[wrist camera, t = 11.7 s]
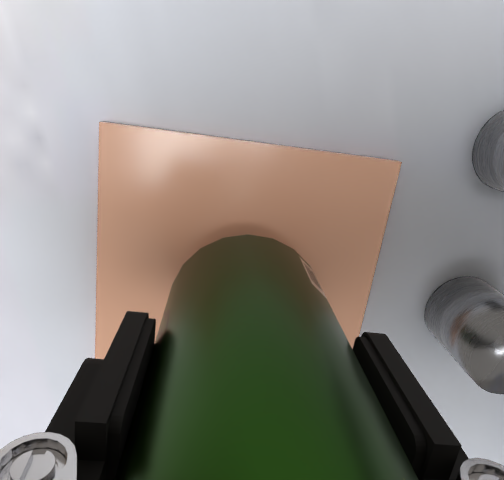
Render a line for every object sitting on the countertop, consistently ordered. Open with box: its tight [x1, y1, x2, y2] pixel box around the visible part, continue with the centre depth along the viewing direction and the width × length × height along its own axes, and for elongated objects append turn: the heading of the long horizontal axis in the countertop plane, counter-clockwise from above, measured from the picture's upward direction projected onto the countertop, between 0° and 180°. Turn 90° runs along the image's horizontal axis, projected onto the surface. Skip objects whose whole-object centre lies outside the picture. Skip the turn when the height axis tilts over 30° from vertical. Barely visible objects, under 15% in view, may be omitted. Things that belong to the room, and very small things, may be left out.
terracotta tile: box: [95, 122, 402, 359], centre depth 17 cm, size 11×11×1 cm
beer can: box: [114, 234, 419, 480], centre depth 10 cm, size 5×5×12 cm
